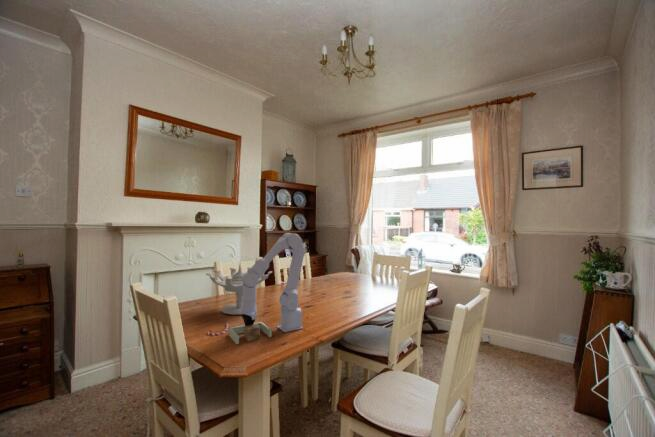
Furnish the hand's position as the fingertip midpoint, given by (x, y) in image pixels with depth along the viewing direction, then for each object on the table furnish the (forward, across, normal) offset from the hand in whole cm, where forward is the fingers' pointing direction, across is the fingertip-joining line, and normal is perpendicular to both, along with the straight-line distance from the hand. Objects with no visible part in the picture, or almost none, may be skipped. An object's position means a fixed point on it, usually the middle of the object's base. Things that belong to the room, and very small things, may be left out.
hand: (248, 331), depth 128 cm
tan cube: (+2, +4, 0) cm, 4 cm away
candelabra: (+2, -36, +7) cm, 36 cm away
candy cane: (+2, -13, -9) cm, 16 cm away
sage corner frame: (+1, +2, 0) cm, 3 cm away
